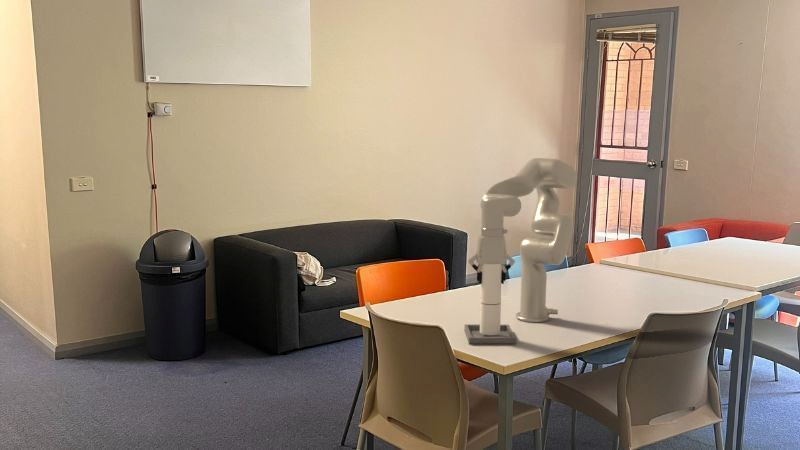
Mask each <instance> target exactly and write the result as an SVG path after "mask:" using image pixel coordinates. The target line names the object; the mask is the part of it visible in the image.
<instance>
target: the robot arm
mask: <svg viewBox="0 0 800 450" xmlns="http://www.w3.org/2000/svg"><path fill="white" fill-rule="evenodd" d="M577 182H578V174H577V171H576V169H575V167H573V166H571V165H570V164H567V163H566V162H564V161H562V160H561V159H558V158H545V157H544V158H542V157H541V158H540V157H535V158H531V159H530V160H529V161H528V162H527V163H526V164H525V165H524V166H523V167H522V168H521V169H520V170H519V171H518V172H517V173H516V175H514V176H511V177H509V178H506V179H504V180H502V181H499V182H496V183H495V184H493V185H492V186H491V187H489V189H488V190H487V191H486V192H485V193H484V194H483V195H482V197H481V201H480V209H481V222H480V223H481V228H480V229H481V230H480V231H481V232H480V235H478V239H477V246H476V253H475V254H474V255H473V256H472V257H470V258H469V259H468V260H467V262H468V264H469V265H470V266H471V267H472V268H473V269H474V270H475V271H476V281H477V282H478V284H479V285H481V283H482V273H481V269H482V265H484V264H501V265H502V278H501V285H504V283H505V282H506V274H507V272H508V270H510V269H511V268H512V266H514V264H515V263H516V262H515V259H513V258H512V257H511V256H510V255H508V253H507V243H506V242H507V241H506V237H505V236H504V235H505V234H508V229H506V228H504V218H506V217H509V218H510V217H515V216H517V215H518V214H519V213H520V211H521V210H522V202H521V200H520V197H524V196H525V197H526V196H528V195H530V194H531V193H533V191H535V190H536V194H537V202H536V206H535V209H534V213H533V216H532V218H531V219H532V220H531V222H530V230H531V232H532V233H533V234H534V235H536V236H528V237H526V238H524V239H522V241H521V242H520V244H519V256H520V261H521V262H520V263H521V275H520V276H521V277H520V278H521V279H520V280H521V281H520V304H519V305H520V309H519V310H520V311H518V312H517V313H516V314H515V318H517V320H520V321H522V322H528V323H544V322H547V321H549V320H550V315H558V314H559V310H558V309H557V308H556V309H554V308H548V307H547V306H546V302H547V301H546V300H547V281H548V280H547V279H548V277H547V275H548V274H547V271H546V267H545V266H544V265H551V266H560V265H561V264H563V262H564V261H565V258H566V255H567V252H568V249H569V244H570V241H571V238H572V234H573V229H574V222H573V218H572V217H571V216H570V215H569V214H567V213H564V212H563V213H562V212H559V208H560V204H561V203H560V199H559V197H558V195H557V193H556V191H555V189H560V190H570V189H573V188H574V187H575V186H576V184H577ZM538 236H541V237H538ZM545 237H548V238H545ZM551 238H552V239H551ZM553 238H554V239H553ZM474 261H476V263H477V264H478V265H476V263H474ZM508 261H509V262H508ZM507 262H508V263H507ZM543 264H544V265H543Z"/></svg>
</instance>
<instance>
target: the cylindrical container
mask: <svg viewBox="0 0 800 450" xmlns="http://www.w3.org/2000/svg"><path fill="white" fill-rule="evenodd" d="M481 273H482V283H481V284H480V298H479V299H480V300H479V301H480V303H479V304H480V306H479V312H480V313H479V325H480V333H482V334H485V335H497V334H499V333H500V325H501V310H502V307H501V306H502V283H501V278H502V265H501V264H484V265H482V269H481Z"/></svg>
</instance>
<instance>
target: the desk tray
mask: <svg viewBox="0 0 800 450" xmlns="http://www.w3.org/2000/svg"><path fill="white" fill-rule="evenodd" d="M464 334H465V336H466V339H467V341H468V342H467V343H468V345H474V346H475V345H489V346H490V345H496V346H497V345H498V346H499V345H503V346H504V345H505V346H506V345H508V346H509V345H510V346H511V345H512V346H513V345H517V337H516V335H515V334H514V331H513V330H512V328H511V326H510V325H509V324H500V333H499V334H497V335H485V334H482V333H480V324H469V323H468V324H464Z"/></svg>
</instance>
